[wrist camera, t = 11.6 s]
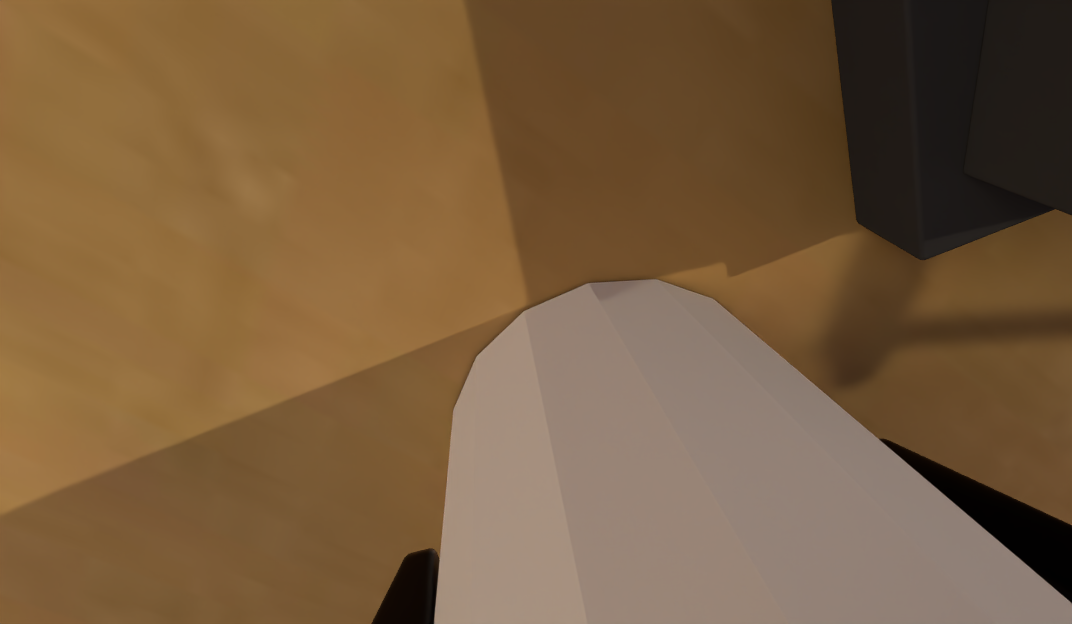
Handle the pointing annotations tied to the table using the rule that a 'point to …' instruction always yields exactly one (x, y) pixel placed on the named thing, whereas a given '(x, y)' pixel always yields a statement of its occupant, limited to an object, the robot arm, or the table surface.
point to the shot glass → (693, 486)
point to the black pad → (1024, 102)
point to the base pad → (917, 123)
